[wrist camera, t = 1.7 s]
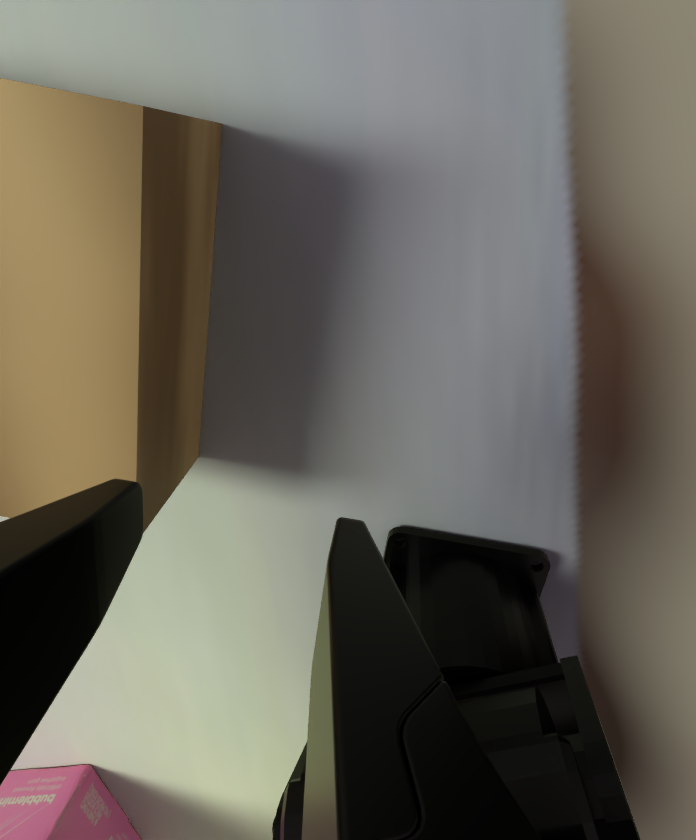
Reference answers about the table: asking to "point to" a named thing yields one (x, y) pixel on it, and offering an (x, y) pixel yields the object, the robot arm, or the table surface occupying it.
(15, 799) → the gum box
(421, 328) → the table surface
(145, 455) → the tan wooden block
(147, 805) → the table surface
